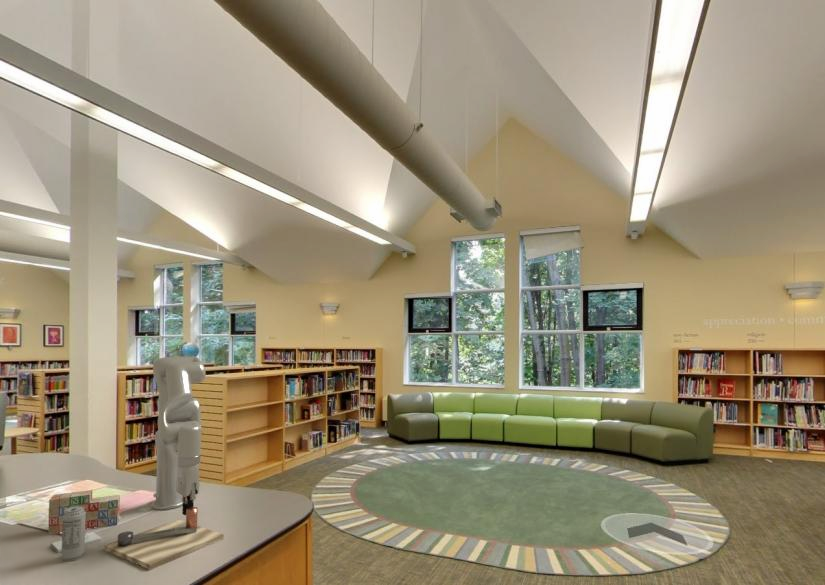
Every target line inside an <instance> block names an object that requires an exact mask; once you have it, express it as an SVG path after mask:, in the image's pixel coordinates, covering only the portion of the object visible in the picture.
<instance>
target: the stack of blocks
mask: <svg viewBox="0 0 825 585" xmlns="http://www.w3.org/2000/svg"><path fill="white" fill-rule="evenodd" d="M120 499H121V494H116V495H115V494H114V495H108V496H98V497H97V496H96V497H93V489H90V490H82V491H74V492H67V493H57V494H53V495H52V496H51V497H50V499H49V500H48V527H47V528H48V531H47V534H48V535H55V534H61V533H60V532H62V527H63V515H64V513H65V512H66V511H65V510H66V509H68V508H71V507H75V506H83V507H84V508H83V509H84V510H85V512H86V517H85V530H88V529H87V528H92V529H95V528H94V527H99V528H105V527H112V525H113V526H117V525H118V524H119V522H120V506H121V505H120V502H121V500H120ZM104 526H105V527H104Z"/></svg>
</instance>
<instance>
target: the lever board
mask: <svg viewBox="0 0 825 585" xmlns="http://www.w3.org/2000/svg"><path fill="white" fill-rule="evenodd" d="M184 526H186V520H185V521H184V520H181V519H175V520H173V521H170V522H167V523H165V524H161V525H159V526H155V527H153V528H150V529H147V530H144V531H142V532H139V533H136V534H133V536H135V535H140V534H146V533H151V532H157V531H162V530H168V529H173V528H179V527H184ZM224 538H225V536H224V534H223V533H221V532H218V531H215V530H212V529H209V528H205V527H203V526H200V525H197V532H191V533H186V534H181V535H176V536H170V537H165V538H160V539H155V540H149V541H144V542H139V543H134V544H130V545H127V546H118V545H117V544H118V540H116V541H113V542H109V543H108V544H104V548H103V549H104V551H105V552H107V553H109V554H113V555H114V554H115V556H117V557H119V556H120V557H119V558H121V557H123V558H125V559H124V560H126V559H127V560H126V561H128V560H130V561H132V562H135V563H137V564H139V565H141V566H140V567H142V566H143V567H142V568H144V567H145V568H144V569H146V568H147V569H146V570H148V569H149V571H150V569H151V570H152V569H153V570H154V569H155V568H158V567H160V566H162V565H163V566H164V565H165V564H168V563H170V562H171V561H175V560H177V559H179V558H181V557H184V556H186V555H189V554H192V553H193V552H196V551H198V550H201V549H203V548H205V547H209V545H210V546H211V545H212V544H215V543H217V542H219V541H222V540H224ZM123 558H122V559H123ZM130 561H129V562H130ZM132 562H131V563H132ZM135 563H134V564H135ZM137 564H136V565H137ZM139 565H138V566H139Z"/></svg>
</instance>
